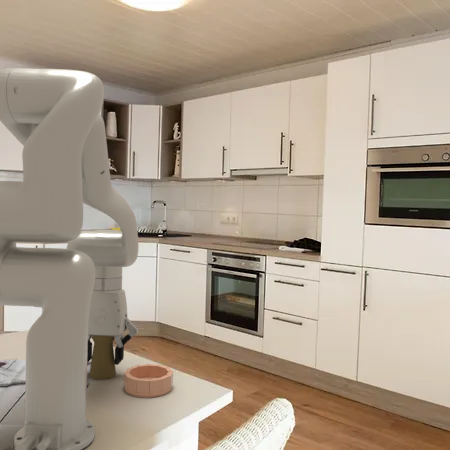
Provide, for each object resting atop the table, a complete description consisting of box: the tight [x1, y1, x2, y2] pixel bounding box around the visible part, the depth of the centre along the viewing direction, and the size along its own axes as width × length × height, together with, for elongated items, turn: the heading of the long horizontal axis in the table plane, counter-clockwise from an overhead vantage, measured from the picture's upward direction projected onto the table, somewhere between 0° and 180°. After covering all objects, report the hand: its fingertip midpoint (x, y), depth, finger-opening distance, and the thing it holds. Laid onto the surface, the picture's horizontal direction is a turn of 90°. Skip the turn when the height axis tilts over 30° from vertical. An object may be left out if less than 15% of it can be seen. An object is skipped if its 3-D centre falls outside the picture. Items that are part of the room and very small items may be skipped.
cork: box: [88, 335, 117, 381], centre depth 108 cm, size 6×6×11 cm
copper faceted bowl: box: [123, 363, 174, 399], centre depth 102 cm, size 10×10×4 cm
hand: (103, 361), depth 108 cm, fingers open, 6 cm apart
